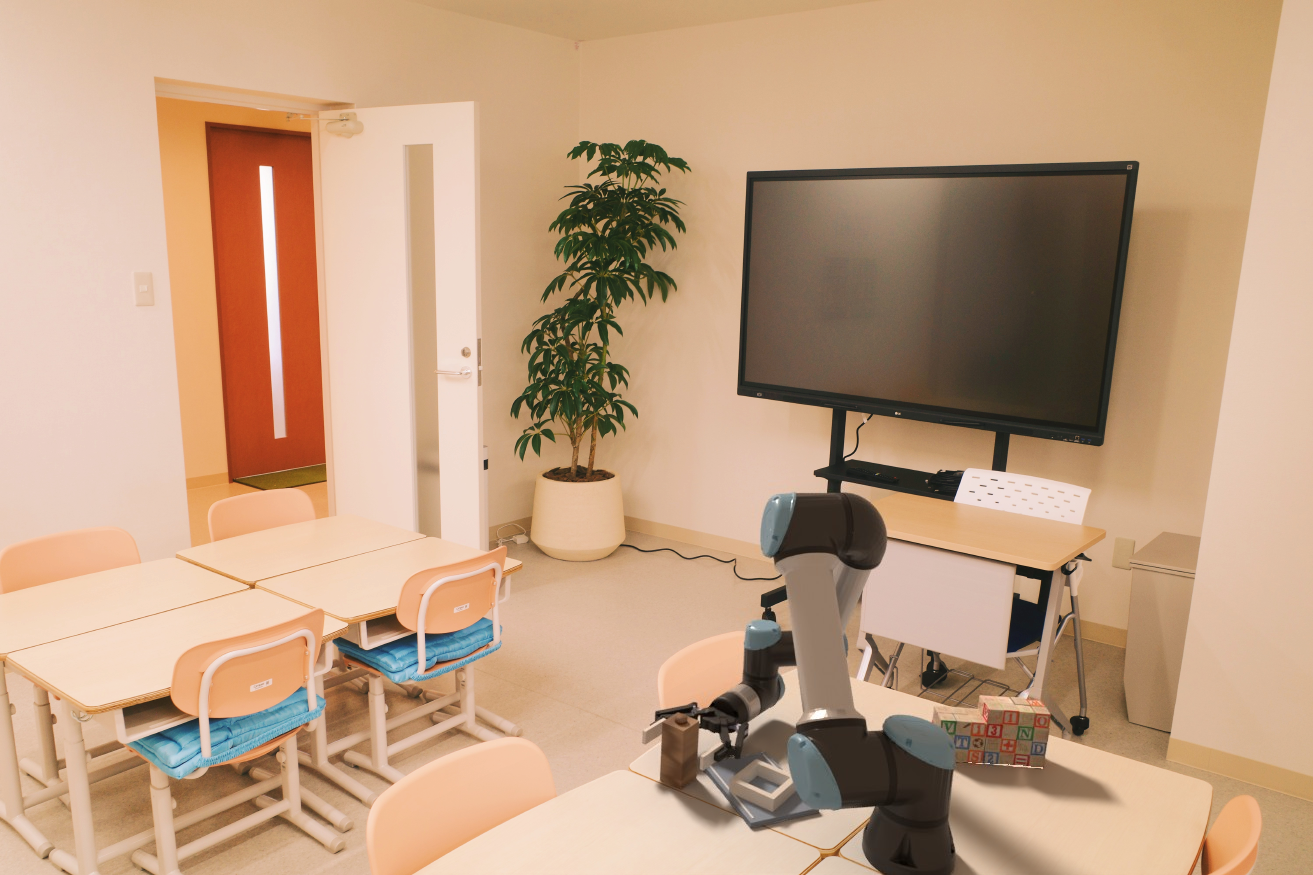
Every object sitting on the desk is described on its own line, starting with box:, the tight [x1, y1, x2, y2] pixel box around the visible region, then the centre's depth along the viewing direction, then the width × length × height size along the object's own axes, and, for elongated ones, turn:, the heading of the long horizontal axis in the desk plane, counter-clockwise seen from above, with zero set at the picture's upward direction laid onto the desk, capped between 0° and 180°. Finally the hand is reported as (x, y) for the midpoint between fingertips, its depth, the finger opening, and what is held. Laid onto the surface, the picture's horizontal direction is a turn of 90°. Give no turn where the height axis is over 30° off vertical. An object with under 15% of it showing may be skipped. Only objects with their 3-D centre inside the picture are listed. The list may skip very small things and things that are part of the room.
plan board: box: [703, 751, 820, 829], centre depth 167 cm, size 20×14×1 cm
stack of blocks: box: [931, 694, 1052, 768], centre depth 180 cm, size 21×6×12 cm, turn 86°
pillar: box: [659, 712, 700, 791], centre depth 168 cm, size 5×5×13 cm
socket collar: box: [729, 759, 796, 812], centre depth 164 cm, size 9×9×2 cm
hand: (671, 749), depth 166 cm, fingers open, 13 cm apart
